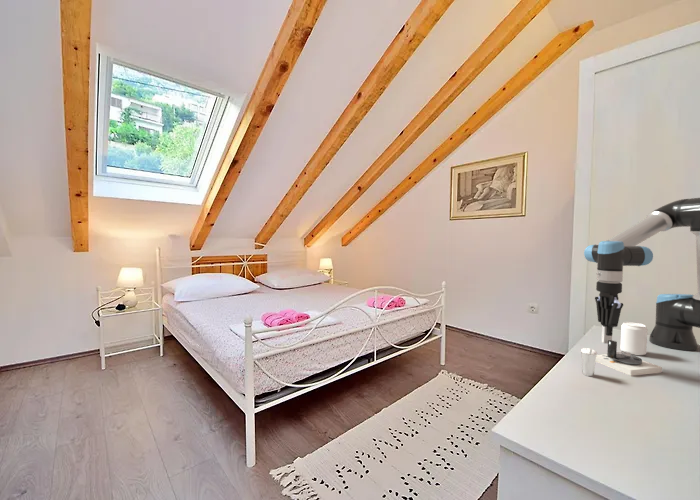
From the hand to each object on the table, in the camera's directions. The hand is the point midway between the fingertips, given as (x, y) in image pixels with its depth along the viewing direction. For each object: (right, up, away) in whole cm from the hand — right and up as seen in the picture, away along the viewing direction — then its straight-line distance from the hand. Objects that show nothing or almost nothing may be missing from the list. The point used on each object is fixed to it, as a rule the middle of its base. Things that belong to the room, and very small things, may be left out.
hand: (606, 342), depth 121 cm
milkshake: (-15, -8, -10) cm, 20 cm away
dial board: (+5, -8, -3) cm, 10 cm away
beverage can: (+20, -8, +11) cm, 24 cm away
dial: (+4, -6, -3) cm, 7 cm away
